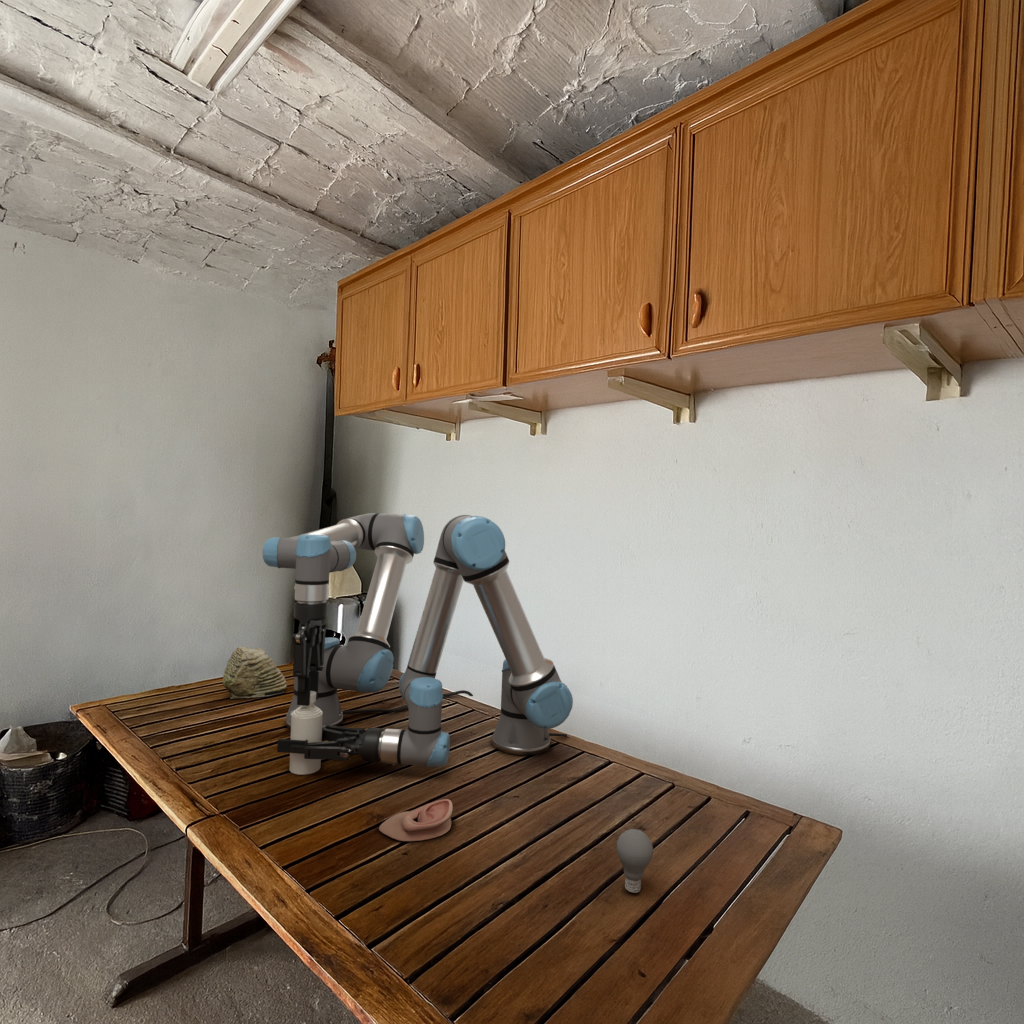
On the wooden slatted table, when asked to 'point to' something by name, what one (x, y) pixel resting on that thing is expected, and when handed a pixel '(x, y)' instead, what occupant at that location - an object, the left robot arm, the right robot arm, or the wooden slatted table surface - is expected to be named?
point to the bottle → (305, 737)
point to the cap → (312, 696)
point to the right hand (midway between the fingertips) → (285, 739)
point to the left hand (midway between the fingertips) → (307, 701)
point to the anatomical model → (420, 822)
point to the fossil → (252, 674)
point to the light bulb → (634, 857)
